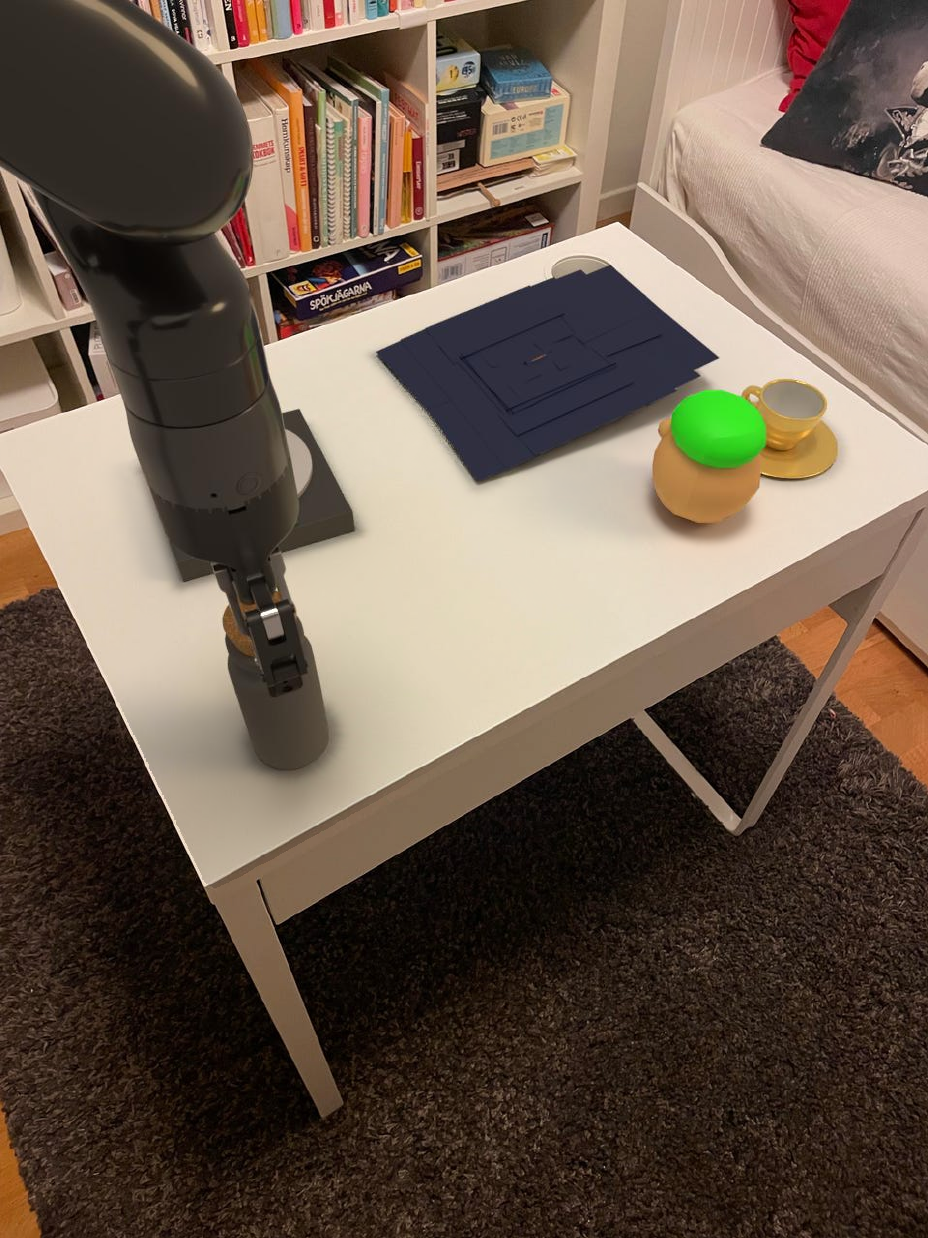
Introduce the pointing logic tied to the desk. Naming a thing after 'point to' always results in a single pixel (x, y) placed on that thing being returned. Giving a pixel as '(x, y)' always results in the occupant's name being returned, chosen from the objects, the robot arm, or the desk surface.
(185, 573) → the scale
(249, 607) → the bottle
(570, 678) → the desk surface
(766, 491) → the desk surface
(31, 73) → the robot arm
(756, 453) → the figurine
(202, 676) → the desk surface
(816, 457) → the cup
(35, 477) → the desk surface
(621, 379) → the papers
